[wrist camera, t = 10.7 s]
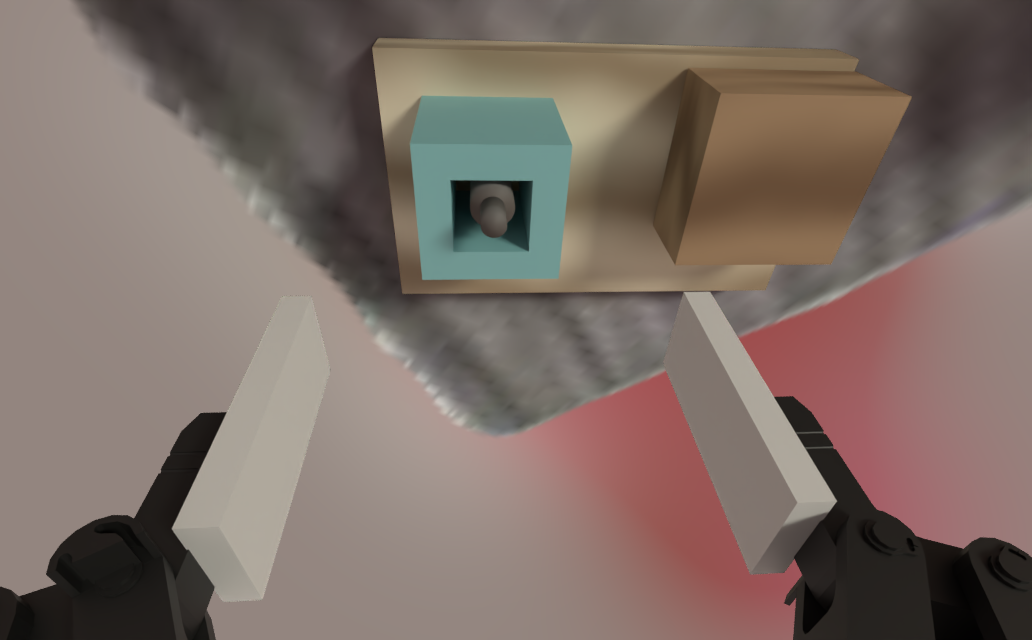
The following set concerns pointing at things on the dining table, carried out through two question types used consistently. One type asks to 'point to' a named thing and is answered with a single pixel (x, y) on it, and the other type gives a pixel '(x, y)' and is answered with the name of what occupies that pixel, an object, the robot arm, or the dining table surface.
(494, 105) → the teal hollow cube
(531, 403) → the dining table surface
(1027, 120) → the dining table surface
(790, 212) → the block
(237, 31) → the dining table surface
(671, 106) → the base board
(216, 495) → the robot arm
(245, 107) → the dining table surface
